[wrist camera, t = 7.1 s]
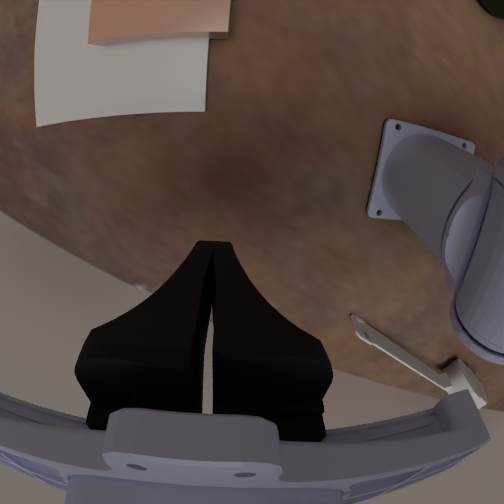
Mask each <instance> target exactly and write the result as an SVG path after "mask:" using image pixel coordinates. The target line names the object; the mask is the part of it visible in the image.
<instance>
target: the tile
mask: <svg viewBox="0 0 504 504" xmlns="http://www.w3.org/2000/svg"><path fill="white" fill-rule="evenodd" d="M231 8H232V0H92V1H91V10H90V20H89V33H88V44H90V45H98V46H105V47H109V46H116V45H122V44H130V43H138V42H147V41H158V40H172V39H197V38H223V39H229V33H230V20H231Z"/></svg>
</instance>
